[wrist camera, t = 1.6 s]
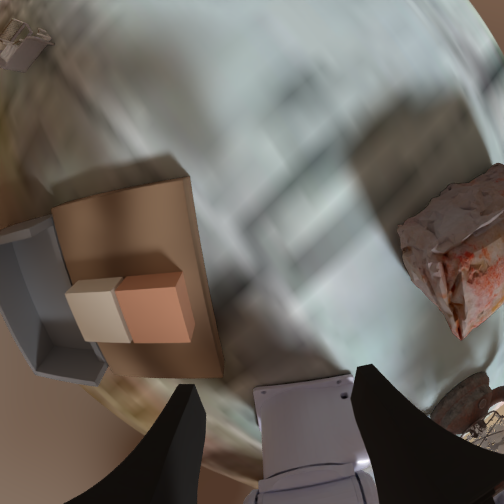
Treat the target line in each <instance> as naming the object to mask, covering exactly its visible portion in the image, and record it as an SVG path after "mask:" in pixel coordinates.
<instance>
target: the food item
mask: <svg viewBox="0 0 504 504" xmlns="http://www.w3.org/2000/svg"><path fill="white" fill-rule="evenodd" d="M397 232H398V234H399V237H400V242H401V249H402V254H403V255H402V258H403V262H404V265H405V267H406V269H407V271H408V273H409V275H410V277H411V280H412V282H413V283H414V284H415V285H416V286H417V287H418V288H420V289H421V290H422V291H423V292H424V294H425V295H426V296H427V297H428V298H429V299H430V300H431V301H432V302H433V303H434V304H435V305H437V306H438V307H439V310H440V311H441V312H442V313H443V314H444V315H445V318H446V320H447V323H448V325H449V327H450V329H451V331H452V333H453V334H454V335H455V336H456V337H457V338H459V339H460V340H461V341H462V340H463V339H464V338H465V337H466V336H467V335H468V334H469V333H470V332H471V330H472V329H473V328H476V327H478V326H479V325H480V324H481V323H482V322H484V321H485V320H486V319H487V318H488V317H490V316H491V315H492V314H493V313H494V312H495V311H496V310H497V309H498V308H499V307H500V306H501V305H502V304H503V303H504V165H503V164H501V163H496V164H494V165H492V167H491V168H490V169H488V170H487V172H486V173H485V174H482V175H480V176H478V177H477V178H475V179H473V180H472V181H471V182H470V183H459V184H458V183H454V184H450V185H448V186H447V188H446V189H445V190H443V191H442V192H441V194H440V196H439V197H436V198H432V199H431V201H430V203H429V205H428V206H427V207H426V208H425V209H424V210H423V211H421V212H420V213H418V214H417V215H416V216H414V217H411V218H408V219H407V220H406V221H405V222H404V224H403V225H398V228H397Z"/></svg>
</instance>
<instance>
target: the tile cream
mask: <svg viewBox="0 0 504 504" xmlns="http://www.w3.org/2000/svg"><path fill="white" fill-rule="evenodd" d="M123 280H124V279H123V277H114V278H102V279H89V280H78V281H77V282H76V283H75V284H74V285H73V286H72V287H71V288H70V289H69V290H68V291H67V292H66V293H65V296H66V299H67V301H68V304H69V306H70V309H71V311H72V313H73V316H74V318H75V320H76V323H77V325H78V327H79V329H80V331H81V333H82V336H83V338H84V340H85V341H88V342H109V343H131V341H132V337H131V334H130V332H129V329H128V327H127V324H126V321H125V319H124V316H123V313H122V311H121V308H120V305H119V302H118V300H117V297H116V294H115V290H116V289H117V287H118V286H119V285H120V284H121V283H122V281H123Z"/></svg>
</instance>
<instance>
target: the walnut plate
mask: <svg viewBox="0 0 504 504" xmlns="http://www.w3.org/2000/svg"><path fill="white" fill-rule="evenodd" d="M51 212H52V216H53V220H54V224H55V228H56V232H57V236H58V240H59V243H60V247H61V250H62V253H63V257H64V260H65V263H66V266H67V269H68V272H69V275H70V278H71V281H72V284H73V285H74V284H75V283H76V282H77V281H78V280H89V279H102V278H114V277H123V279H125V278H126V276H138V275H149V274H160V273H171V272H182V271H183V275H184V279H185V284H186V288H187V292H188V296H189V301H190V305H191V309H192V313H193V317H194V321H195V327H194V331H193V335H192V339H191V342H189V343H134V341H133V339H132V341H131V343H109V342H97V343H98V346H99V348H100V350H101V352H102V354H103V356H104V358H105V360H106V361H107V363H108V365H109V367H110V369H111V371H112V373H113V374H114V375H117V376H130V377H148V378H223V372H224V356H223V352H222V348H221V343H220V339H219V334H218V330H217V325H216V320H215V316H214V311H213V306H212V301H211V296H210V291H209V286H208V281H207V276H206V271H205V265H204V260H203V254H202V249H201V243H200V237H199V231H198V225H197V219H196V213H195V207H194V200H193V194H192V187H191V180H190V176H189V177H182V178H176V179H170V180H164V181H159V182H153V183H148V184H143V185H138V186H133V187H128V188H123V189H118V190H114V191H109V192H105V193H101V194H96V195H92V196H88V197H84V198H80V199H76V200H72V201H69V202H65V203H63V204H60V205H58V206H56V207H53V208H51Z"/></svg>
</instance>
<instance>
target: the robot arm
mask: <svg viewBox="0 0 504 504" xmlns="http://www.w3.org/2000/svg"><path fill="white" fill-rule="evenodd" d="M353 381H354V384H353ZM253 395H254V401H255V407H256V413H257V418H258V424H259V429H260V431H261V432H262V453H263V477H264V479H263V480H259V481H258V482H259V489H258V490H252V491H251V492H250V494H249V495H248V496H247V497H246V498H245V500H244V503H243V504H504V490H503V491H501V492H500V493H499V494H497V495H496V496H494V497H492V496H493V495H494V494H495V490H494V488H495V487H496V486H498V485H499V484H500V483H501V482H503V481H504V454H501V453H498V452H494V451H491V450H487V449H485V448H482V447H479V446H477V445H474V444H472V443H470V442H468V441H466V440H464V439H462V438H460V437H458V436H456V435H454V434H453V433H451V432H449V431H448V430H446V429H445V428H443V427H442V426H440V425H439V424H437V423H436V422H434V421H433V420H432V419H430V418H429V417H428V416H426V415H425V414H424V413H423V412H421V411H420V410H419V409H418V408H417V407H415V406H414V405H413V404H412V403H411V402H410V401H409V400H408V399H407V398H405V397H404V396H403V395H402V394H401V393H400V392H399V391H398V390H397V389H396V388H395V387H394V386H393V385H392V384H391V383H390V382H389V381H388V380H387V379H386V378H385V377H384V376H383V375H382V374H381V373H380V372H379V370H378V369H377V368H376V367H375V366H374V365H373V364H369V365H364V366H359V367H357V370H356V375H355V380H354V377H353V375H352V374H348V375H342V376H337V377H332V378H326V379H320V380H313V381H306V382H299V383H291V384H283V385H274V386H263V387H256V388H254V389H253ZM205 433H206V412H205V410H204V407H203V405H202V402H201V400H200V397H199V395H198V392H197V389H196V387H195V384H179V385H178V386H177V388H176V389H175V391H174V393H173V394H172V396H171V398H170V399H169V401H168V403H167V404H166V406H165V408H164V409H163V411H162V412H161V414H160V415H159V417H158V418H157V420H156V421H155V423H154V424H153V426H152V427H151V428H150V430H149V431H148V432H147V434H146V435H145V436H144V438H143V439H142V440H141V441H140V443H139V444H138V445H137V446H136V448H135V449H134V450H133V451H132V452H131V453H130V454H129V455H128V457H126V459H125V460H124V461H123V462H122V463H121V464H120V465H118V467H116V468H115V469H114V470H113V471H112V472H111V473H110V474H108V475H107V476H106V477H105V478H104V479H102V480H101V481H100V482H98V483H97V484H96V485H94V486H93V487H91V488H90V489H88V490H87V491H86V492H84V493H82V494H81V495H79V496H77V497H75V498H73V499H71V500H70V501H68V502H66V503H64V504H197V488H198V479H199V473H200V466H201V460H202V454H203V448H204V442H205ZM370 463H371V465H372V468H373V472H374V477H375V482H376V485H375V483H374V480H373V478H372V477H371V475H370V474H368V473H366V472H364V471H363V470H362V469H364V468H367V467H368V466H369V465H370ZM376 487H377V488H376Z"/></svg>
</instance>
